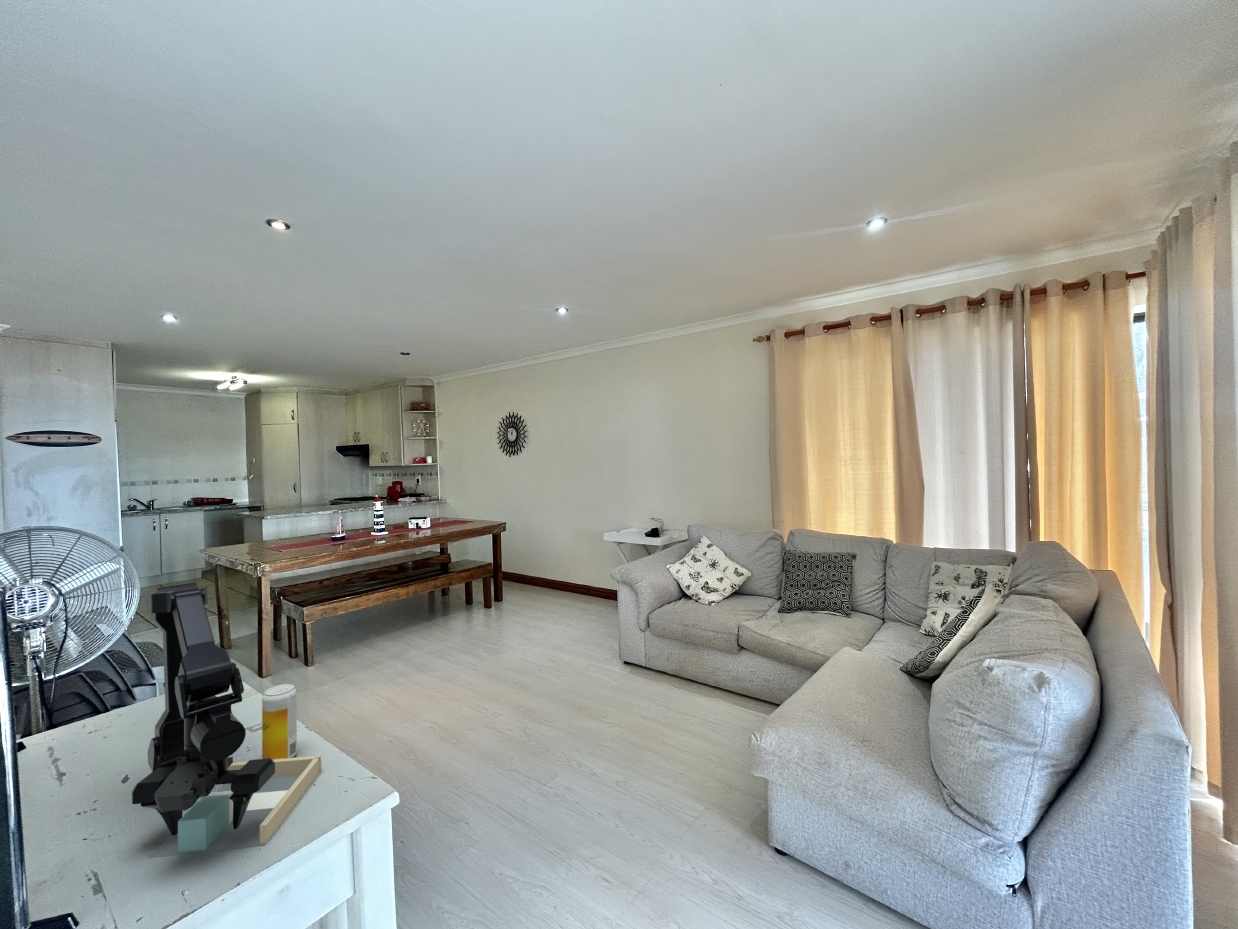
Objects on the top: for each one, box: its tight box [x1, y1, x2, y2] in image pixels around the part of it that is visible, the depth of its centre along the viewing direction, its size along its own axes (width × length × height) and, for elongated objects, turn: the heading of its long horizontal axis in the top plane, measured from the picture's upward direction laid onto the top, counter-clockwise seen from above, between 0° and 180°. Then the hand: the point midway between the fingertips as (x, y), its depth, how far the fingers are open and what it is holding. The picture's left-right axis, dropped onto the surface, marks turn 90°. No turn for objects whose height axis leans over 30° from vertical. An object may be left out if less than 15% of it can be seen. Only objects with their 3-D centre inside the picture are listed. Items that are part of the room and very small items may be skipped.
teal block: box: [178, 791, 233, 852], centre depth 84 cm, size 4×7×5 cm, turn 8°
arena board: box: [147, 755, 322, 859], centre depth 90 cm, size 17×20×4 cm
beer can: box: [261, 683, 298, 760], centre depth 106 cm, size 6×6×15 cm
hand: (206, 830), depth 84 cm, fingers open, 9 cm apart
